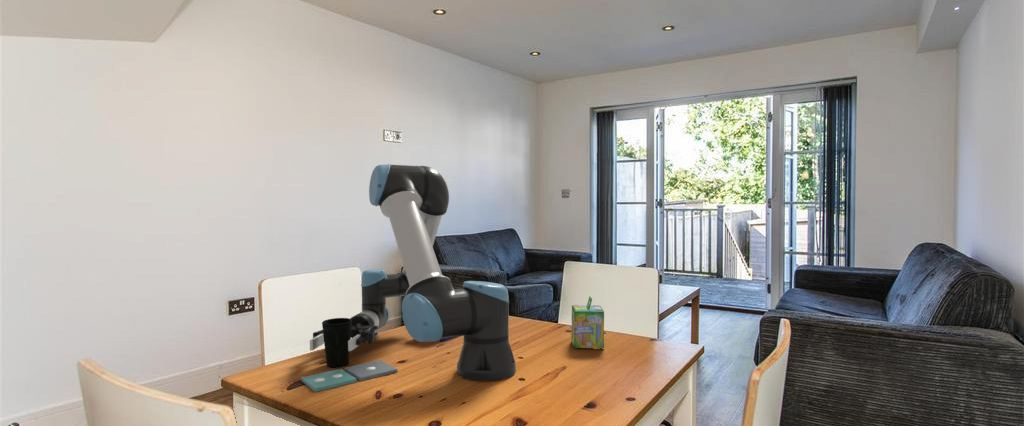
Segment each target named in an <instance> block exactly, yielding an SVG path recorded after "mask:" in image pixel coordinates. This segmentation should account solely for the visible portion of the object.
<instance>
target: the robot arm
mask: <svg viewBox="0 0 1024 426" xmlns="http://www.w3.org/2000/svg"><path fill="white" fill-rule="evenodd" d="M368 187H369V188H368V197H369V202H370V205H372V206H375V207H379V208H380V210H381V214H382V215H383V216H384V217H386V218H389V222H390V225H391V228H392V231H393V234H394V238H395V242H396V245H397V248H398V252H399V255H400V258H401V262H402V265H403V267H402V271H401V273H391V274H389V273H388V274H386V273H387V272H386V271H385V270H384V269H382V268H381V269H380V268H379V269H377V268H375V269H373V268H371V269H365V270H364V271H362V274H361V284H360V287H361V312H359V313H356V314H355V315H353V316H351V317H350V318H349V319H351V320H352V328H351V339H350V340H349V341H348V351H350V352H351V351H354V350H355V349H356V348H358V347H359V346H361V345H365V344H366V343H367V342H368V344H373V343H374V340H375V338H376V336H378V335H379V334H378V333H379V332H378V330H379V329H381V328H382V327H384V326H385V325H386V324H387V322H388V321H389V319H390V311H389V308H388V307H387V306H386V305H387V299H389V298H395V297H404V298H403V299H402V301H401V312H402V317H401V318H402V320H403V321H402V322H403V324H404V326H405V329H406V331H407V333H408V334H409V336H410V337H411V338H412V339H414V340H416V341H417V342H420V343H425V342H433V343H434V342H439V341H438V340H442V339H447V338H451V339H453V337H455V338H457V337H458V338H459V337H463V343H462V346H461V347H462V348H461V350H460V353H459V357H458V361H457V364H456V373H457V375H458V376H459V377H460V378H463V379H465V380H469V381H476V382H496V381H499V380H500V381H501V380H506V379H508V378H511V377H512V376H514V375H515V374H516V370H517V369H516V367H517V366H516V365H517V363H516V360H515V357H514V353H513V350H512V348H511V344H510V340H509V338H510V337H509V335H510V333H509V332H510V331H509V329H510V328H509V327H510V326H509V324H510V323H509V322H510V321H509V318H510V317H509V316H510V314H509V311H510V310H509V304H510V300H509V297H510V296H509V291H508V288H507V287H506V286H505V285H503V284H502V283H496V282H491V281H481V280H479V281H478V280H477V281H476V280H466V281H464V282H463V284H462V288H454V287H453V284H452V280H451V279H450V277H448V276H445V275H443V273H442V270H441V267H440V265H439V262H438V259H437V256H436V253H435V250H434V244H435V240H436V236H437V233H438V230H439V226H440V224H441V223H440V222H441V219H442V216H444V215H445V214H446V213H447V211H448V207H449V202H450V194H449V188H448V184H447V182H446V181H445V178H444V177H443V175H441V174H440V172H439V171H438V170H436V169H434V168H432V167H431V166H427V165H403V164H390V163H388V164H378V165H376V166H375V167H374V168H373V170H372V173H371V176H370V179H369V186H368ZM323 345H324V336H323V329H321V330H318V331H315V332H313V333H312V338H311V339H309V351H315V350H316V349H317V348H319V347H320V346H323Z"/></svg>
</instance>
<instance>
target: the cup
mask: <svg viewBox="0 0 1024 426" xmlns="http://www.w3.org/2000/svg"><path fill="white" fill-rule="evenodd" d="M321 325H322V327H321V328H322V330H323V336H324V344H323V345H324V353H325V354H324V355H325V362H326V368H328V369H343V368H346V367H347V366H348V365H349V363H350V362H349V361H350V352H351V351H348V341H349V340H350V339H352V338H351V328H352V320H351V319H350V318H349V317H336V318H335V317H334V318H328V319H325V320H323V321H322V322H321Z"/></svg>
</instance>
